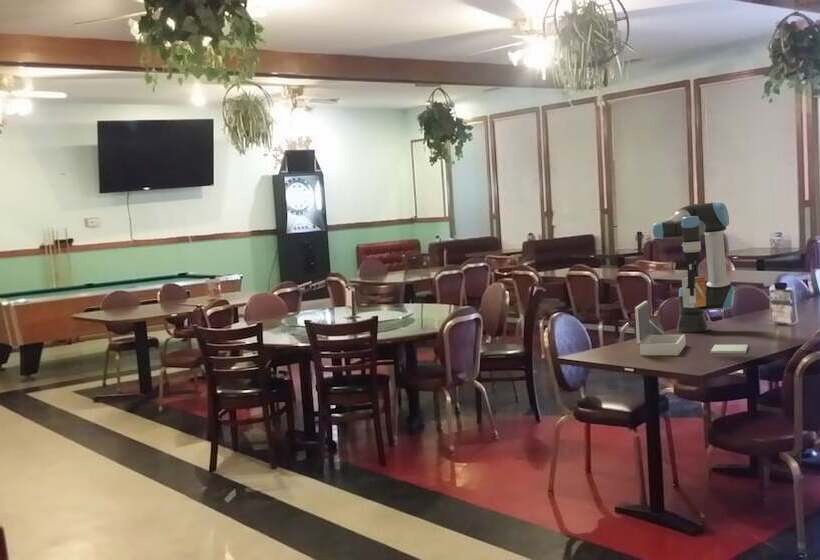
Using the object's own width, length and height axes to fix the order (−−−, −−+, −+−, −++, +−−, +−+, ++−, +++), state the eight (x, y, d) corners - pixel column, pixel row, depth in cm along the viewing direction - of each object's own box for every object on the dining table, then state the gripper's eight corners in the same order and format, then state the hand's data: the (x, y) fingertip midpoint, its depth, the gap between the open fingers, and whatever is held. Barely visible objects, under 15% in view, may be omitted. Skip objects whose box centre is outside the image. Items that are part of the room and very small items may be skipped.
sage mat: (714, 346, 371) (714, 344, 371) (748, 346, 365) (747, 344, 365) (710, 353, 357) (710, 351, 357) (745, 353, 351) (745, 350, 350)
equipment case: (647, 345, 389) (645, 300, 388) (685, 344, 382) (683, 299, 380) (637, 355, 366) (634, 307, 364) (678, 355, 358) (675, 306, 357)
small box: (694, 308, 360) (692, 278, 359) (682, 307, 366) (681, 278, 365) (706, 305, 365) (705, 276, 364) (695, 305, 370) (693, 276, 369)
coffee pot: (663, 345, 384) (661, 313, 383) (639, 345, 391) (637, 314, 390) (676, 338, 402) (674, 307, 401) (652, 338, 408) (650, 308, 407)
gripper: (686, 250, 375) (689, 298, 377) (678, 253, 355) (681, 305, 357) (704, 249, 372) (707, 298, 373) (697, 252, 352) (699, 304, 353)
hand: (694, 301), depth 365 cm, fingers closed on small box, 10 cm apart
